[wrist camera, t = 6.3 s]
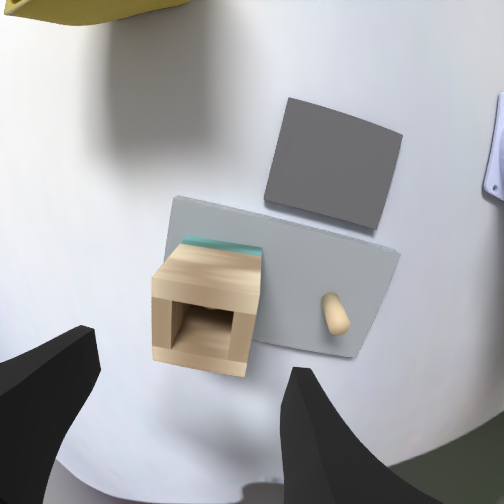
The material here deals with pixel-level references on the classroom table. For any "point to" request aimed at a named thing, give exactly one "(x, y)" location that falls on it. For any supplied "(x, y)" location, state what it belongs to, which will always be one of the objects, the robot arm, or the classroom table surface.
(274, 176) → the pad
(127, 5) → the flower pot
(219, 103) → the classroom table surface
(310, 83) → the classroom table surface
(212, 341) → the sleeve
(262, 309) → the pin board
